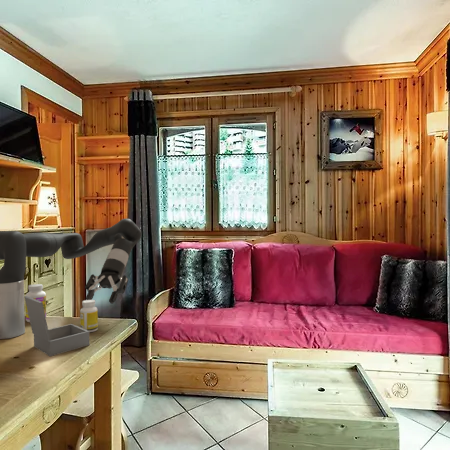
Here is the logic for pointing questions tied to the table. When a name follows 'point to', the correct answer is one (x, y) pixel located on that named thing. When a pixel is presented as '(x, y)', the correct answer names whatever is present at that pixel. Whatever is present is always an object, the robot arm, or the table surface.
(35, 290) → the supplement bottle
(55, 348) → the mailer box
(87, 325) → the supplement bottle
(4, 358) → the table surface
